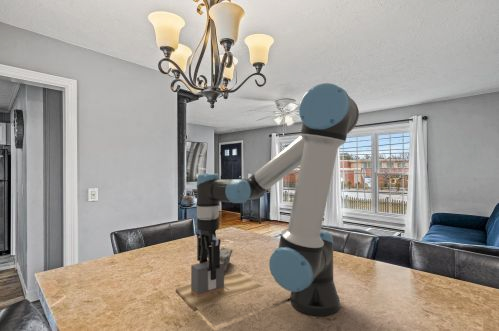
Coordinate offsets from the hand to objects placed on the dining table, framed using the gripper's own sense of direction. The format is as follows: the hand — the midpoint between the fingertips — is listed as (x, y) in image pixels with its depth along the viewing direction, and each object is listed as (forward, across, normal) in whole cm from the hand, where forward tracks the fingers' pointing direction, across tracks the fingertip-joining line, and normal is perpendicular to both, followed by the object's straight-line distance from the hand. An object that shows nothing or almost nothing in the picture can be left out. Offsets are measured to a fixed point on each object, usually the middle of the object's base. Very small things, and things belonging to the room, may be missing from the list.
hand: (208, 285), depth 90 cm
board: (+3, 0, -5) cm, 5 cm away
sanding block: (+2, 0, 0) cm, 2 cm away
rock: (+3, +16, -15) cm, 22 cm away
